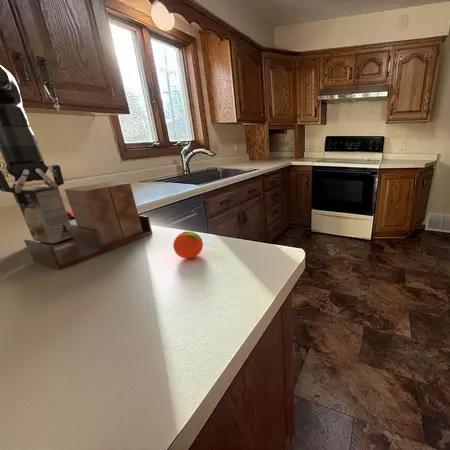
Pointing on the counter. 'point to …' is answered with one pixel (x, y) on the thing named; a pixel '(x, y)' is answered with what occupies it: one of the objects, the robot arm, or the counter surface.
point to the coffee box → (46, 214)
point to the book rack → (95, 224)
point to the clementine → (188, 245)
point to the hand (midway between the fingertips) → (40, 202)
